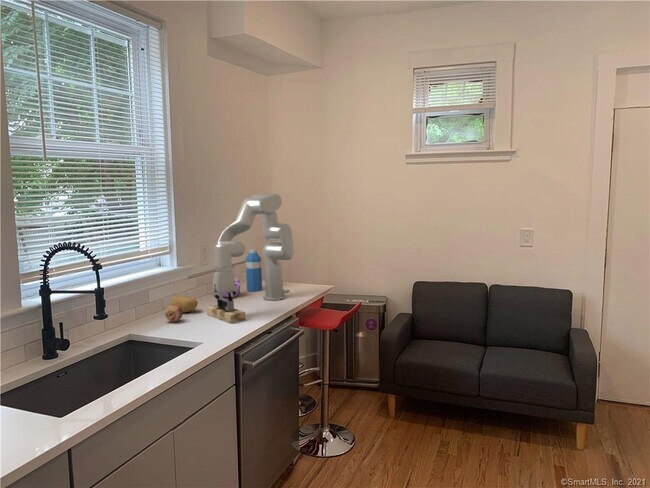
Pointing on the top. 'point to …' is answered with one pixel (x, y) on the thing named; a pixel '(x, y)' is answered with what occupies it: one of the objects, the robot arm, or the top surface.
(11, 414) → the top surface
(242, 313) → the wooden block with holes
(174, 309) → the fruit
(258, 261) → the water bottle
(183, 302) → the potato
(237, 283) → the teapot
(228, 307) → the gray pronged block
